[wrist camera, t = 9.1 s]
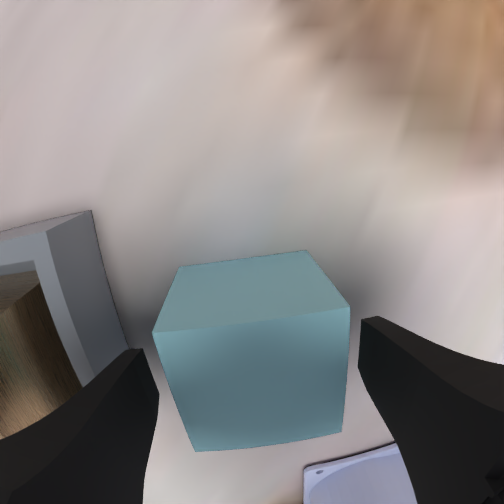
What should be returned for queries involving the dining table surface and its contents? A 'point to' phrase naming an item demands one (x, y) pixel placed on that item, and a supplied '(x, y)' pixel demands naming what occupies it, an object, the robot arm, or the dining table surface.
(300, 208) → the dining table surface
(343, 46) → the dining table surface
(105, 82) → the dining table surface
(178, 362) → the pale teal cube
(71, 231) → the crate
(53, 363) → the wooden block
